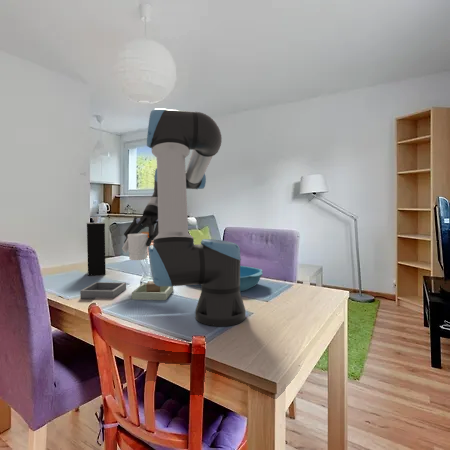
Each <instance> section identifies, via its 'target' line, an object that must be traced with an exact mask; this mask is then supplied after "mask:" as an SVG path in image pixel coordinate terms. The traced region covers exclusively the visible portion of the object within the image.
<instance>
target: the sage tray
mask: <svg viewBox="0 0 450 450" xmlns="http://www.w3.org/2000/svg"><path fill="white" fill-rule="evenodd" d="M146 284H147V283H142V284H140V286H138V287H137V288H136V289H134V290H133V291H131V300H138V301H139V300H142V301H143V300H145V301H146V300H148V301H166V300H167V299H168V298H169V297H170V295H172V293H173V291H174V286H172V287H169V286H160V292H147V291H146Z"/></svg>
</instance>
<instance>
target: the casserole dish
mask: <svg viewBox="0 0 450 450" xmlns="http://www.w3.org/2000/svg"><path fill="white" fill-rule="evenodd" d="M263 275H264V273H263V269H262V268H258V267H252V266H247V265H245V266H244V265H240V293H241V292H244V291H246V290H249V289H251V288H253V287H255V286H257V284H258V283H259V281H260V280H261V277H262V276H263ZM199 285H200V286H201V284H199Z"/></svg>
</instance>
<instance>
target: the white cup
mask: <svg viewBox="0 0 450 450" xmlns="http://www.w3.org/2000/svg"><path fill="white" fill-rule="evenodd" d="M146 237H148V238H149V233H137V234H128V256H129V260H130V261H142V260H146V259H147V255H148V254H147V253H148V249H147V250H146V252H145V254H142V252H141V251H140V248H141V246H142V244H143V242H144V240H145V239H146Z"/></svg>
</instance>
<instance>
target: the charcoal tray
mask: <svg viewBox="0 0 450 450" xmlns="http://www.w3.org/2000/svg"><path fill="white" fill-rule="evenodd" d="M126 289H127V283H126V282H111V281H110V282H109V281H104V282H103V281H96V282H94V283H92V284H89V285H88V286H87V287H84V288H82V289H80V292H79V293H80V300H95V299H97V298H99V299H115V298H116V297H117V296H118V295H119V294H121V293H122V292H124V291H125V290H126Z"/></svg>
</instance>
